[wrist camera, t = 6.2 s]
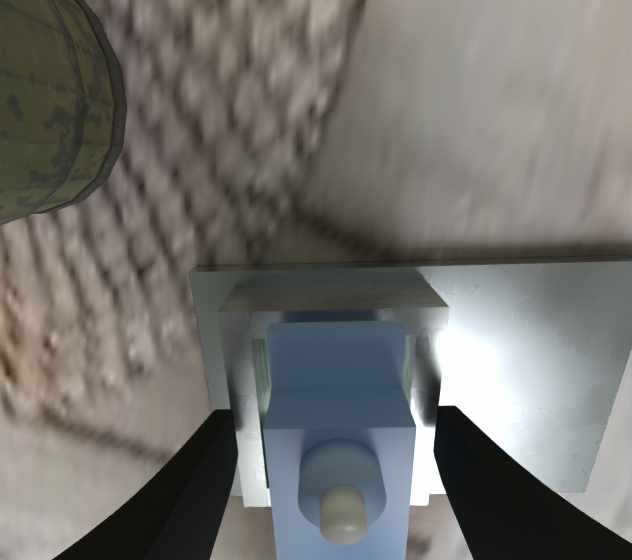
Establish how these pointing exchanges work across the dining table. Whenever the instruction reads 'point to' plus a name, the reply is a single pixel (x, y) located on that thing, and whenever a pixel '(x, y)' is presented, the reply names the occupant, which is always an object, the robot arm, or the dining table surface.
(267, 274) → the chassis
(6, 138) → the thermos
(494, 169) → the dining table surface
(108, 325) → the dining table surface
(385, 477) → the servo
